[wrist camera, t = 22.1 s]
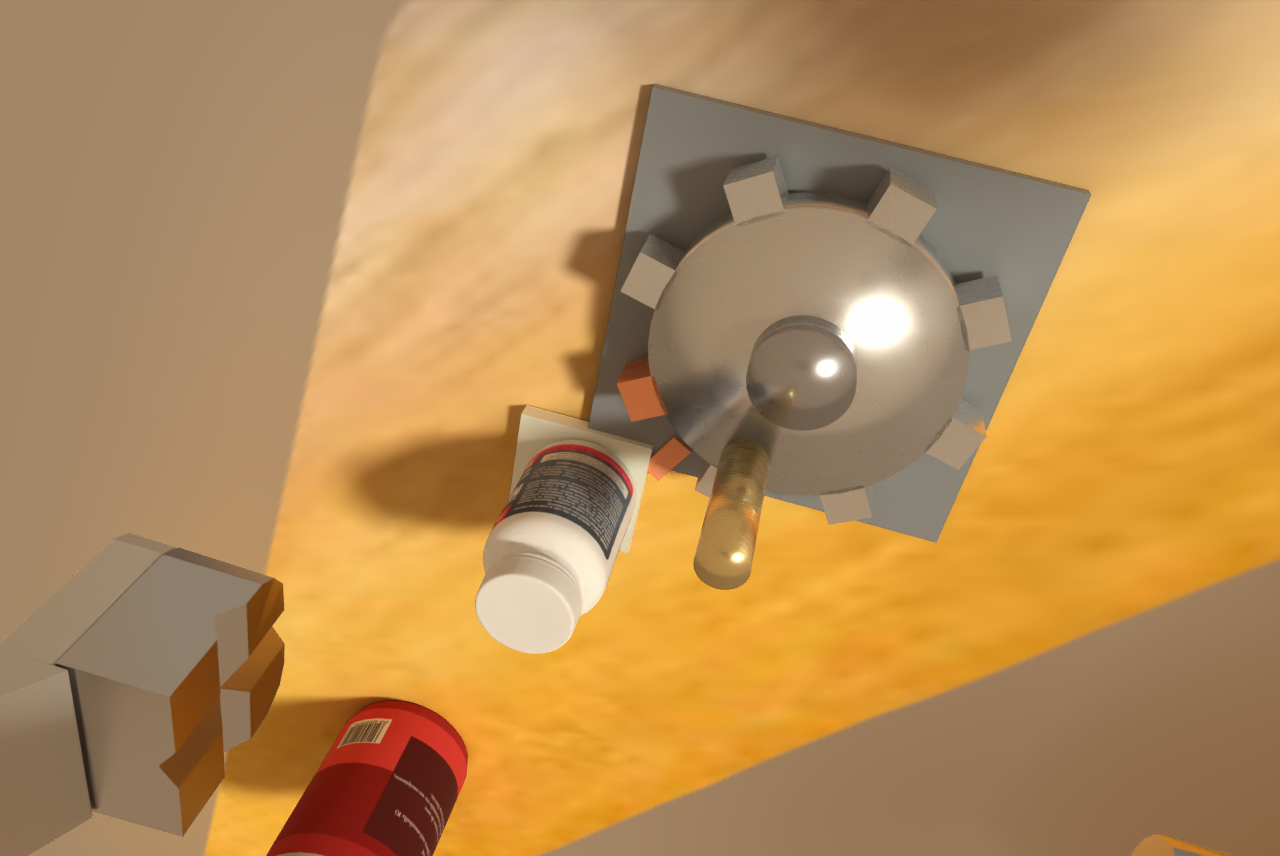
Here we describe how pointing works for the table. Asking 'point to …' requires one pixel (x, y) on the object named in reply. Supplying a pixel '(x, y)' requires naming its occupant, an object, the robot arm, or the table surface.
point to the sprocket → (807, 352)
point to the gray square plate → (854, 167)
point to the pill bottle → (554, 545)
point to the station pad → (554, 427)
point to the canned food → (380, 787)
